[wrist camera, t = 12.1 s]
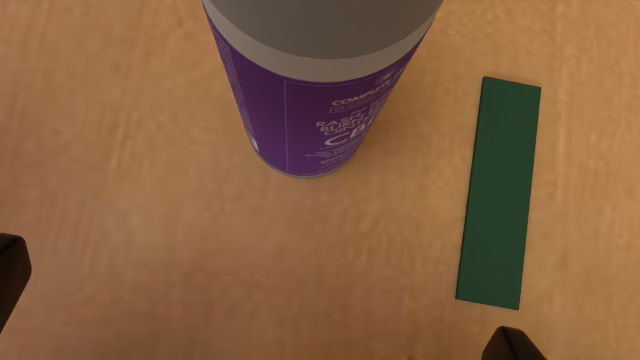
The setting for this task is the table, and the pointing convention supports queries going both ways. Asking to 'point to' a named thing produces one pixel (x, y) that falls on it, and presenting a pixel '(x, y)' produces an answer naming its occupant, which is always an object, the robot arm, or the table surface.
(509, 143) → the pointer strip
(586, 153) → the table surface
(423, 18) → the container
